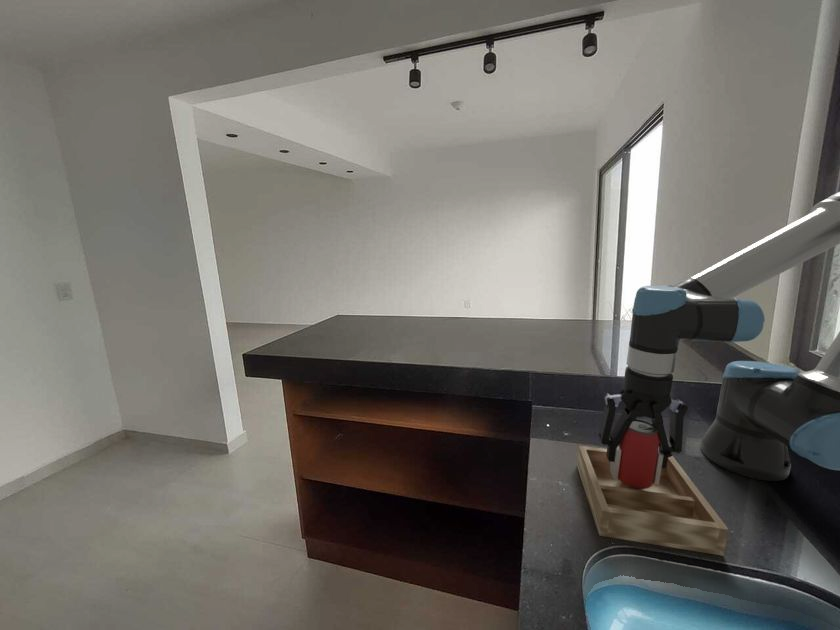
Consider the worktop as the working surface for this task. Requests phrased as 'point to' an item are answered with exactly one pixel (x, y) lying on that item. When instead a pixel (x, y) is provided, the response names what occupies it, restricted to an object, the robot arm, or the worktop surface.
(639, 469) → the beer can
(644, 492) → the crate
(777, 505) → the worktop surface
